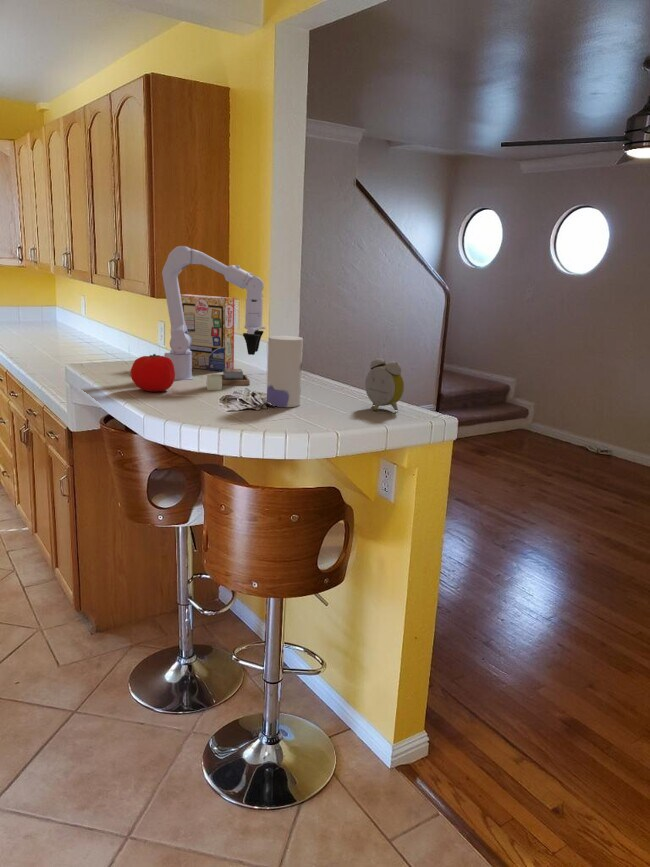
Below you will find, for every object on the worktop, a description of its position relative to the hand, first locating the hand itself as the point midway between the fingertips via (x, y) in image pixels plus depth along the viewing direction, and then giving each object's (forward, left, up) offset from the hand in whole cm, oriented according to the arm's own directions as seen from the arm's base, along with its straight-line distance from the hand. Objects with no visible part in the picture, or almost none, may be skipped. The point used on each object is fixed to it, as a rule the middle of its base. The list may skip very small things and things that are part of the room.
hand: (252, 353), depth 230 cm
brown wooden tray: (-8, -4, -10) cm, 13 cm away
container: (+5, -36, -10) cm, 38 cm away
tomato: (-33, -17, -10) cm, 39 cm away
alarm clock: (+33, -44, -10) cm, 56 cm away
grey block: (-7, -4, -9) cm, 13 cm away
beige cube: (-14, -15, -10) cm, 23 cm away
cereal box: (-14, +25, -10) cm, 30 cm away
